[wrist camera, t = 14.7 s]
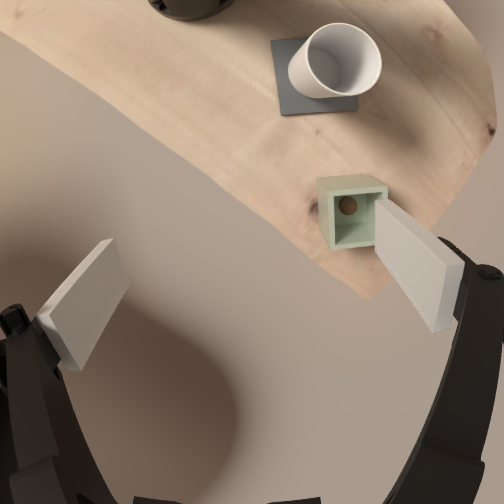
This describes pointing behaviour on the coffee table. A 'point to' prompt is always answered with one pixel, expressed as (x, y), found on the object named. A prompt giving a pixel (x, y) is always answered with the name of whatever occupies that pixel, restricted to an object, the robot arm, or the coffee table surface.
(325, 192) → the planter
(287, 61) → the coaster
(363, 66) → the cup
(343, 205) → the walnut ball
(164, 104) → the coffee table surface
